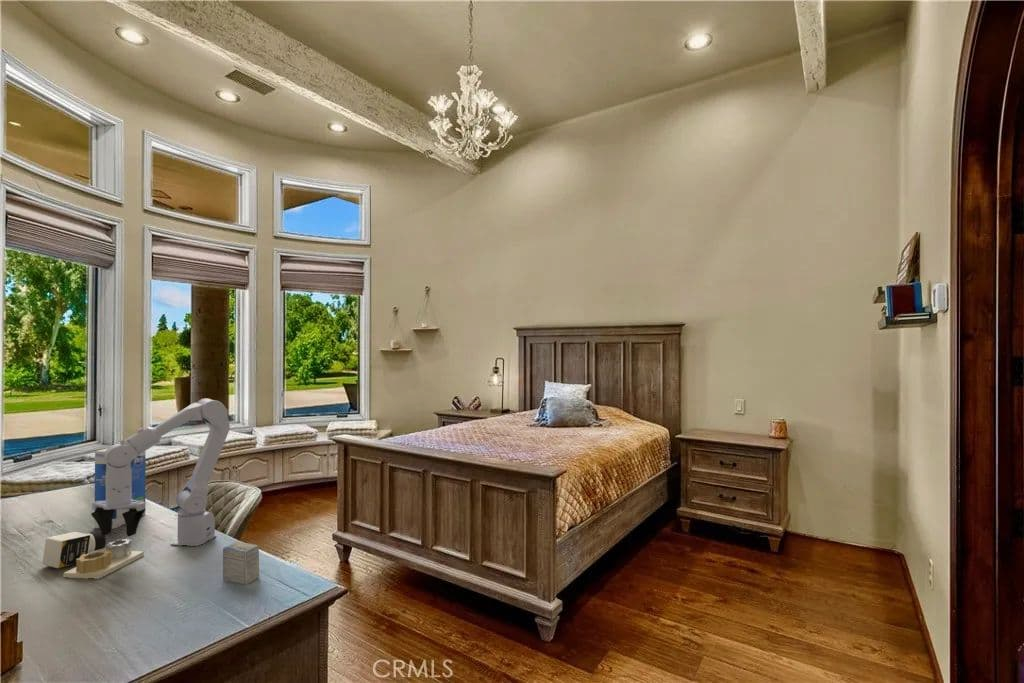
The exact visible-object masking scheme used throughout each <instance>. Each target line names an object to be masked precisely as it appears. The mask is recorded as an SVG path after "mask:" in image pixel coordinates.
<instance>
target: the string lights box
mask: <svg viewBox="0 0 1024 683" xmlns="http://www.w3.org/2000/svg"><path fill="white" fill-rule="evenodd" d="M108 448H109V447H107V448H103V449H99V450H94V502H96V501H106V464H107V463H108V462H106V461H105V460H104V457H103V455H104V454H105V451H106V450H107V449H108ZM131 485H132V500H136V501H141V502H145V503H146V451H144V452H143V453H141V454H139V455H138V456H134V458H133V460H132V462H131ZM127 511H129V510H120V509H115V510H114V514H113V518H112V529H114V528H115V529H117V528H119V527H122V526H123V524H124V525H126V523H125V519H124V517H123V515H122V513H125V512H127ZM144 514H145V515H146V511H145V512H144V513H143V515H144ZM145 515H144V516H145ZM93 525H94V526H93V528H94V529H100V528H99V525H98V523H97V522H96V520H95V519H94V523H93ZM121 525H122V526H121Z"/></svg>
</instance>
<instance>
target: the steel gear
mask: <svg viewBox="0 0 1024 683" xmlns="http://www.w3.org/2000/svg"><path fill="white" fill-rule="evenodd" d="M105 550H107V551H108V552H110V551H111V560H112V559H117V558H118V559H120V558H122V557H124V556H128V555H130V553H131V551H132V539H129V538H125V539H122V544H118V545H115V540H114V541H109V542H108V543H107V544H105Z"/></svg>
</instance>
